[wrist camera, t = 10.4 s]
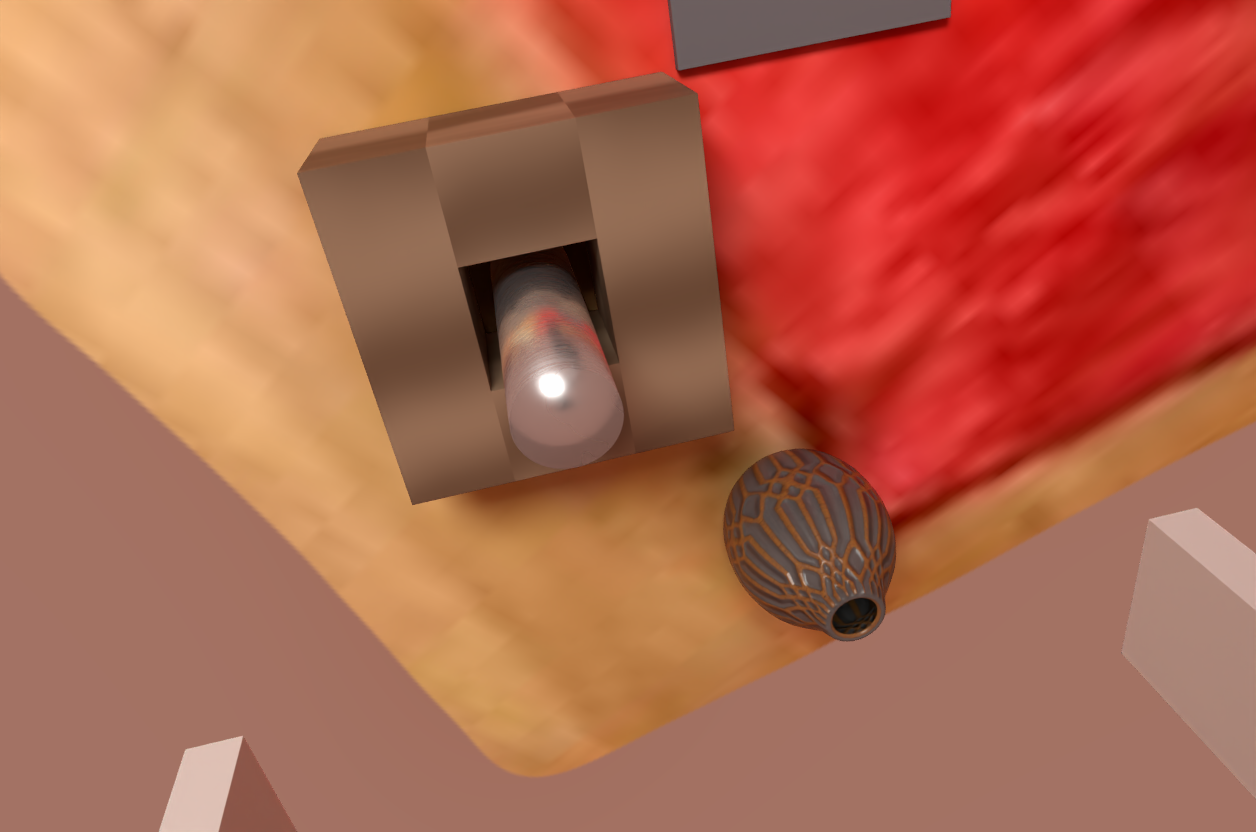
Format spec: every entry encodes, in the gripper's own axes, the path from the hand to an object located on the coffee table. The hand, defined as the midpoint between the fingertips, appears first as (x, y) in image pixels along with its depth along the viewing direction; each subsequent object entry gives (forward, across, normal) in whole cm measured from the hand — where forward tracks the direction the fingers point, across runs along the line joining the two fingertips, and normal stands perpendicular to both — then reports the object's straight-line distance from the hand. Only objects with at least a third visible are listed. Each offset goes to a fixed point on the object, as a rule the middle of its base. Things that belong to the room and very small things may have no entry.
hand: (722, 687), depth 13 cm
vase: (+23, +8, -14) cm, 28 cm away
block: (+23, -1, -1) cm, 23 cm away
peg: (+23, -1, -2) cm, 23 cm away
